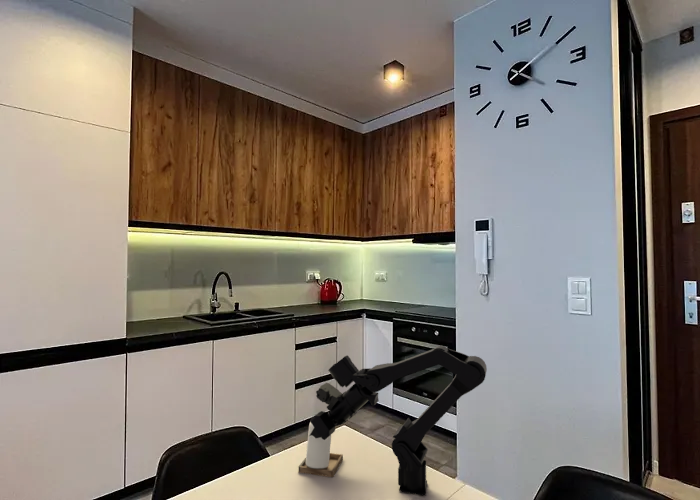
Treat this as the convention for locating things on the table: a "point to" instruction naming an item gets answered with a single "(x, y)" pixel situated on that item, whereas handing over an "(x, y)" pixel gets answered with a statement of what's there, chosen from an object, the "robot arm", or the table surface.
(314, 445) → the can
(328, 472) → the wooden tray
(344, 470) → the table surface
